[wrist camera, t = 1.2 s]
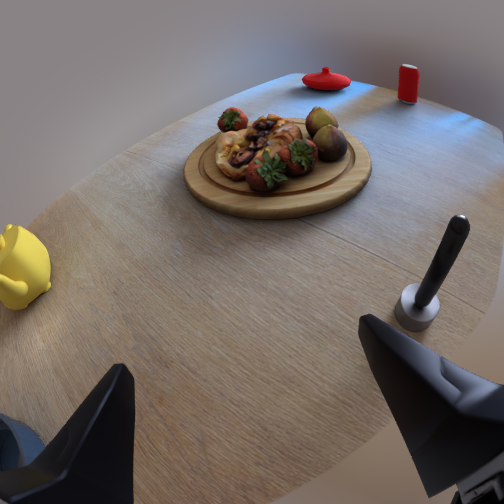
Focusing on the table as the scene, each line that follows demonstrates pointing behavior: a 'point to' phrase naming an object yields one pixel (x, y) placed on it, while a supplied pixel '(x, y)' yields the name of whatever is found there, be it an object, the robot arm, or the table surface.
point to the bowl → (17, 444)
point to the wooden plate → (277, 166)
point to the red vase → (326, 80)
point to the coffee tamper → (432, 280)
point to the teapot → (22, 267)
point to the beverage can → (408, 84)
